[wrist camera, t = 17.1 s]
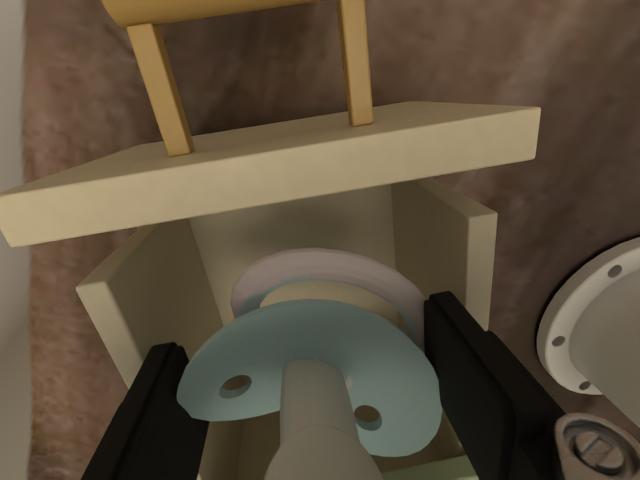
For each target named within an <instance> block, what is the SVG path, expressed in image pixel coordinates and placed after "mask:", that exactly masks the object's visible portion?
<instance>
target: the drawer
mask: <svg viewBox="0 0 640 480" xmlns="http://www.w3.org/2000/svg"><path fill="white" fill-rule="evenodd" d="M101 1H102V3H103V5H104V7H105V8H106V10H107V12H108V13H109V15H110V16H111V18H112V19H113V20H114V21H115V23H116V24H117V25H119V26H120V27H121V28H124V29H127V32H128V35H129V38H130V41H131V44H132V47H133V50H134V53H135V56H136V59H137V62H138V65H139V68H140V71H141V74H142V77H143V80H144V83H145V86H146V89H147V92H148V95H149V99H150V102H151V105H152V108H153V111H154V114H155V117H156V120H157V123H158V126H159V129H160V132H161V135H162V138H163V141H160V142H154V143H148V144H141V145H137V146H134V147H131V148H128V149H125V150H122V151H119V152H117V153H114V154H111V155H108V156H105V157H102V158H99V159H96V160H93V161H90V162H88V163H85V164H82V165H79V166H76V167H73V168H70V169H67V170H64V171H61V172H59V173H56V174H53V175H50V176H47V177H44V178H41V179H38V180H35V181H32V182H30V183H27V184H24V185H21V186H18V187H15V188H13V189H10V190H6V191H3V192H1V193H0V230H1V231H2V233H3V235H4V237H5V239H6V240H7V242H8V244H9V245H10V246H11V247H12V248H16V247H22V246H27V245H33V244H39V243H45V242H51V241H57V240H63V239H69V238H74V237H80V236H86V235H92V234H98V233H104V232H110V231H116V230H121V229H127V228H133V227H139V226H141V227H140V228H139V229H137V230H136V231H135V232H134V233H133V234H132V235H131V236H130V237H129V238H128V239H127V240H126V241H124V242H123V243H122V244H121V245H120V246H119V247H118V248H117V249H116V250H115V251H114V252H113V253H111V254H110V255H109V256H108V257H107V258H106V259H105V260H104V261H103V262H102V263H101V264H100V265H99V266H97V267H96V268H95V269H94V270H93V271H92V272H91V273H90V274H89V275H88V276H87V277H86V278H84V279H83V280H82V281H81V282H80V283H79V284H78V285H77V286H76V291H77V293H78V295H79V297H80V299H81V301H82V303H83V304H84V306H85V308H86V310H87V312H88V314H89V316H90V318H91V319H92V321H93V323H94V325H95V327H96V329H97V331H98V333H99V334H100V336H101V338H102V340H103V342H104V344H105V346H106V348H107V349H108V351H109V353H110V355H111V357H112V359H113V361H114V363H115V364H116V366H117V368H118V370H119V372H120V374H121V376H122V378H123V379H124V381H125V383H126V385H127V387H128V389H130V387H131V385H132V383H133V381H134V379H135V377H136V375H137V373H138V371H139V369H140V368H141V366H142V364H143V362H144V360H145V358H146V356H147V354H148V352H149V350H150V348H151V347H152V346H154V345H158V344H163V343H169V342H175V343H176V344H177V345H178V346H183V347H184V349H185V352H186V354H187V356H188V359H189V361H190V360H191V359H192V357H193V356H194V354H195V353H196V352H197V351H198V350H199V349H200V348H201V347H202V345H203V344H204V343H205V342H206V341H207V340H208V339H210V338H211V337H212V336H213V335H214V334H215V333H217V332H218V331H219V330H220V329H221V328H223V327H224V326H226V325H227V324H229V323H230V322H232V321H233V320H235V318H234V315H233V311H232V308H231V304H230V299H231V293H232V286H233V284H234V283H235V281H236V280H237V278H238V277H239V275H240V274H241V273H242V271H243V270H244V269H245V268H247V267H248V266H250V265H251V264H253V263H254V262H256V261H258V260H259V259H261V258H262V257H265V256H268V255H271V254H275V253H278V252H281V251H285V250H288V249H301V248H314V247H316V248H325V249H334V250H344V251H347V252H351V253H354V254H358V255H361V256H364V257H368V258H371V259H373V260H375V261H377V262H379V263H382V264H384V265H386V266H388V267H390V268H392V269H394V270H396V271H397V272H399V273H400V274H401V275H403V276H404V277H405V278H406V279H408V280H409V281H410V282H412V283H413V284H414V285H415V286H416V287H417V288H418V289H419V291H420V292H421V293H422V294H423V296H424V297H425V298H426V299H427V300H429V296H430V295H431V294H434V293H440V292H445V291H451V292H452V293H453V294H454V295H455V297H456V298H457V299H458V300H459V301H460V302H461V304H462V305H463V306H464V307H465V308H466V309H467V311H468V312H469V313H470V314H471V315H472V316H473V318H474V319H475V320H476V321H477V322H478V323H479V325H480V326H481V327H482V328H483V329H484V330H485V331H488V323H489V311H490V299H491V288H492V276H493V264H494V252H495V240H496V228H497V217H498V214H497V212H495V211H493V210H491V209H489V208H487V207H486V206H484V205H482V204H480V203H478V202H477V201H475V200H473V199H471V198H469V197H467V196H466V195H464V194H462V193H460V192H458V191H456V190H455V189H453V188H451V187H449V186H447V185H446V184H444V183H442V182H440V181H438V180H436V179H435V178H433V176H439V175H445V174H451V173H457V172H462V171H468V170H474V169H480V168H486V167H492V166H498V165H504V164H509V163H515V162H521V161H527V160H532V159H534V158H535V154H536V146H537V138H538V130H539V122H540V114H541V108H540V107H530V106H508V105H486V104H464V103H443V102H421V101H408V102H402V103H396V104H389V105H383V106H377V107H373V106H372V92H371V79H370V65H369V51H368V37H367V23H366V9H365V0H338V1H337V11H338V20H339V30H340V40H341V50H342V60H343V69H344V79H345V89H346V99H347V109H348V111H346V112H340V113H334V114H327V115H321V116H315V117H309V118H303V119H296V120H290V121H284V122H278V123H272V124H265V125H259V126H253V127H247V128H241V129H234V130H228V131H222V132H216V133H210V134H203V135H197V136H191V133H190V130H189V127H188V123H187V120H186V116H185V113H184V110H183V106H182V103H181V99H180V96H179V93H178V89H177V86H176V82H175V79H174V76H173V72H172V69H171V65H170V62H169V59H168V55H167V52H166V48H165V45H164V42H163V38H162V35H161V31H160V29H159V27H157V26H155V25H162V24H168V23H175V22H182V21H188V20H195V19H202V18H209V17H215V16H222V15H229V14H235V13H242V12H249V11H256V10H262V9H269V8H276V7H283V6H289V5H296V4H303V3H309V2H316V1H323V0H101ZM298 299H325V300H334V301H340V302H344V303H348V304H352V305H355V306H358V307H361V308H364V309H366V310H369V311H371V312H373V313H376V314H378V315H380V316H382V317H383V318H385V319H386V320H388V321H390V322H391V323H392V324H394V325H395V326H397V327H398V328H399V329H401V330H402V331H403V328H404V327H403V316H402V315H401V314H400V312H399V311H398V310H397V309H396V308H395V307H394V306H393V305H391V304H390V303H389V302H387V301H386V300H384V299H383V298H381V297H380V296H378V295H376V294H374V293H372V292H370V291H367V290H365V289H363V288H361V287H357V286H353V285H349V284H346V283H342V282H334V281H324V280H314V281H301V282H296V283H292V284H288V285H285V286H281V287H280V288H278V289H276V290H275V291H273V292H271V293H270V294H268V295H267V296H266V297H265V299H264V300H263V301H262V303H261V304H260V308H261V307H264V306H267V305H271V304H274V303H278V302H283V301H290V300H298ZM424 355H425V353H424ZM250 380H251V378H250V377H249V376H247V375H238V376H235V377H232V378H230V379H229V380H227V381H226V382H225V383H224V384H223V385H222V386H221V387H222V388H224V389H226V390H235V389H238V388H241V387H243V386H244V385H246V384H247V383H248V382H249V381H250ZM354 415H355V416H356V417H357V418H358V419H359V420H361V421H364V422H374V421H376V420H377V419H378V418H379V415H380V413H379V412H378V410H376V409H375V408H374V407H372V406H369V405H361V406H359V407H357V408H356V409H355V411H354ZM279 448H280V410H279V411H276V412H272V413H268V414H265V415H261V416H256V417H251V418H246V419H239V420H230V421H210V422H209V427H208V432H207V436H206V441H205V445H204V450H203V454H202V459H201V464H200V468H199V473H198V477H197V480H264V477H265V474H266V471H267V469H268V467H269V465H270V463H271V461H272V459H273V457H274V455H275V454H276V452H277V451H278V449H279ZM370 455H371V457H372V458H373V460H374V461H375V463H376V465H377V467H378V469H379V471H380V472H385V471H390V470H395V469H400V468H405V467H410V466H415V465H420V464H425V463H429V462H434V461H439V460H444V459H449V458H454V457H459V456H464V455H466V453H465V451H464V449H463V447H462V445H461V443H460V441H459V439H458V437H457V435H456V433H455V431H454V429H453V427H452V425H451V423H450V421H449V420H448V418H447V416H446V414H445V412H444V410H443V408H442V416H441V422H440V426H439V428H438V431H437V433H436V435H435V436H434V437H433V439H432V440H431V441H430V443H429V444H428V445H427V446H426V447H424V448H423V449H422V450H420V451H418V452H415V453H412V454H411V455H408V456H401V457H389V456H387V457H383V456H378V455H372V454H370Z"/></svg>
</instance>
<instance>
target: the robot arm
mask: <svg viewBox="0 0 640 480" xmlns="http://www.w3.org/2000/svg"><path fill="white" fill-rule="evenodd" d="M424 351H425V356H426V358H427V359H428V361H429V362H430V364H431V365H432V367H433V368H434V371H435V373H436V376H437V378H438V380H439V394H440V402H441V406H442V408H443V410H444V412H445V414H446V416H447V418H448V420H449V421H450V423H451V425H452V427H453V429H454V431H455V433H456V435H457V437H458V439H459V441H460V443H461V445H462V447H463V449H464V451H465V453H466V455H467V457H468V459H469V461H470V463H471V465H472V467H473V468H474V470H475V472H476V474H477V476H478V478H479V480H640V443H639V442H638V441H637V440H636V439H634V438H633V437H632V436H631V435H630V434H629V433H628V432H627V431H625V430H624V429H622V428H621V427H619V426H618V425H616V424H614V423H612V422H610V421H608V420H606V419H604V418H602V417H599V416H595V415H592V414H588V413H576V412H575V413H570V414H566V413H565V412H564V411H563V410H562V409H561V408H560V406H559V405H558V404H557V403H556V402H555V401H554V400H553V399H552V397H551V396H550V395H549V394H548V393H547V392H546V391H545V390H544V388H543V387H542V386H541V385H540V384H539V383H538V382H537V381H536V379H535V378H534V377H533V376H532V375H531V374H530V373H529V372H528V370H527V369H526V368H525V367H524V366H523V365H522V364H521V363H520V361H519V360H518V359H517V358H516V357H515V356H514V355H513V354H512V352H511V351H510V350H509V349H508V348H507V347H506V346H505V345H504V343H503V342H502V341H501V340H500V339H499V338H498V337H497V336H496V335H495V334H494V333H493V332H491V331H485V330H484V329H483V328H482V327H481V326H480V325H479V323H478V322H477V321H476V320H475V319H474V318H473V316H472V315H471V314H470V313H469V312H468V311H467V309H466V308H465V307H464V306H463V305H462V304H461V302H460V301H459V300H458V299H457V298H456V297H455V295H454V294H453V293H452V292H451V291H445V292H440V293H434V294H431V295H430V296H429V300H425V301H424ZM537 353H538V356H539V360H540V362H541V364H542V365H543V367H544V368H545V370H546V371H547V372H548V373H549V374H550V375H551V376H552V377H553V378H554V379H555V380H556V381H557V382H558V383H559V384H560V385H562V386H563V387H565V388H567V389H568V390H571V391H574V392H577V393H583V394H592V395H599V394H603V395H604V396H605V397H606V398H607V399H609V400H610V401H611V402H612V403H613V404H614V405H615V406H616V407H617V408H618V409H619V410H620V411H621V412H622V413H624V414H625V415H626V416H627V417H628V418H629V419H630V420H631V421H632V422H633V423H634V424H635V425H636V426H637V427H639V428H640V237H638V238H635V239H632V240H629V241H626V242H623V243H621V244H619V245H617V246H615V247H613V248H611V249H609V250H607V251H605V252H603V253H601V254H600V255H598V256H597V257H595V258H594V259H592V260H591V261H589V262H588V263H586V264H585V265H584V266H582V267H581V268H580V269H579V270H578V271H577V272H576V273H574V274H573V275H572V276H571V277H570V278H569V279H568V280H567V281H566V282H565V283H564V285H563V286H562V287H561V288H560V289H559V290H558V292H557V293H556V294H555V296H554V297H553V299H552V300H551V302H550V303H549V305H548V306H547V308H546V310H545V313H544V315H543V317H542V320H541V322H540V325H539V330H538V334H537ZM189 362H190V361H189V359H188V356H187V354H186V352H185V349H184V347H183V346H178V345H177V344H176V343H175V342H169V343H163V344H158V345H154V346H152V347H151V348H150V350H149V352H148V354H147V356H146V358H145V360H144V362H143V364H142V366H141V368H140V369H139V371H138V373H137V375H136V377H135V379H134V381H133V383H132V385H131V387H130V389H129V391H128V393H127V395H126V397H125V398H124V400H123V402H122V403H121V405H120V406H119V407H118V409H117V411H116V413H115V415H114V417H113V419H112V421H111V423H110V425H109V426H108V428H107V430H106V432H105V434H104V436H103V438H102V440H101V442H100V444H99V446H98V447H97V449H96V451H95V453H94V455H93V457H92V459H91V461H90V463H89V465H88V467H87V469H86V470H85V472H84V474H83V476H82V478H81V480H197V477H198V473H199V468H200V464H201V459H202V454H203V450H204V445H205V441H206V436H207V432H208V427H209V422H210V421H206V420H201V419H196V418H192V417H191V416H190V415H189V413H188V412H187V411H186V410H185V409H184V408H183V407H182V406H181V405H180V404H179V403H178V401H177V398H176V397H177V390H178V385H179V383H180V380H181V378H182V375H183V373H184V371H185V368H186V366H187V365H188V363H189Z"/></svg>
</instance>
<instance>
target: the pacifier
mask: <svg viewBox="0 0 640 480" xmlns="http://www.w3.org/2000/svg"><path fill="white" fill-rule="evenodd" d="M314 280H324V281H334V282H342V283H346V284H349V285H353V286H357V287H361V288H363V289H365V290H367V291H370V292H372V293H374V294H376V295H378V296H380V297H381V298H383V299H384V300H386V301H387V302H389V303H390V304H391V305H393V306H394V307H395V308H396V309H397V310H398V311H399V312H400V314H401V315H402V316H403V327H404V328H403V331H402V330H401V329H399V328H398V327H397V326H395V325H394V324H392V323H391V322H390V321H388V320H386V319H385V318H383V317H382V316H380V315H378V314H376V313H373V312H371V311H369V310H366V309H364V308H361V307H358V306H355V305H352V304H348V303H344V302H340V301H334V300H325V299H298V300H290V301H283V302H278V303H274V304H271V305H267V306H264V307H261V308H260V304H261V303H262V301H263V300H264V299H265V297H266V296H267V295H268V294H270V293H271V292H273V291H275V290H276V289H278V288H280V287H281V286H285V285H288V284H292V283H296V282H301V281H314ZM425 300H427V299H426V298H425V297H424V296H423V294H422V293H421V292H420V291H419V289H418V288H417V287H416V286H415V285H414V284H413V283H412V282H410V281H409V280H408V279H406V278H405V277H404V276H403V275H401V274H400V273H399V272H397V271H396V270H394V269H392V268H390V267H388V266H386V265H384V264H382V263H379V262H377V261H375V260H373V259H371V258H368V257H364V256H361V255H358V254H354V253H351V252H347V251H344V250H334V249H325V248H316V247H314V248H301V249H288V250H285V251H281V252H278V253H275V254H271V255H268V256H265V257H262V258H261V259H259V260H258V261H256V262H254V263H253V264H251V265H250V266H248V267H247V268H245V269H244V270H243V271H242V273H241V274H240V275H239V277H238V278H237V280H236V281H235V283H234V284H233V286H232V293H231V299H230V304H231V308H232V311H233V315H234V318H235V320H233V321H232V322H230V323H229V324H227V325H226V326H224V327H223V328H221V329H220V330H219V331H218V332H217V333H215V334H214V335H213V336H212V337H211V338H210V339H208V340H207V341H206V342H205V343H204V344H203V345H202V347H201V348H200V349H199V350H198V351H197V352H196V353H195V354H194V356H193V357H192V359H191V360H190V362H189V363H188V365H187V366H186V368H185V371H184V373H183V375H182V378H181V380H180V383H179V385H178V390H177V397H176V398H177V401H178V403H179V404H180V405H181V406H182V407H183V408H184V409H185V410H186V411H187V412H188V413H189V415H190V416H191V417H192V418H196V419H201V420H206V421H230V420H239V419H246V418H251V417H256V416H261V415H265V414H268V413H272V412H276V411H279V410H280V448H279V449H278V451H277V452H276V454H275V455H274V457H273V459H272V461H271V463H270V465H269V467H268V469H267V471H266V474H265V477H264V480H383V477H382V475H381V473H380V471H379V469H378V467H377V465H376V463H375V461H374V460H373V458H372V457H371V455H370V454H372V455H378V456H383V457H387V456H389V457H401V456H408V455H411V454H412V453H415V452H418V451H420V450H422V449H423V448H424V447H426V446H427V445H428V444H429V443H430V441H431V440H432V439H433V437H434V436H435V435H436V433H437V431H438V428H439V426H440V422H441V416H442V406H441V402H440V394H439V380H438V378H437V376H436V373H435V371H434V368H433V367H432V365H431V364H430V362H429V361H428V359H427V358H426V356H425V355H424V353H425V351H424V301H425ZM238 375H247V376H249V377H250V378H251V380H250V381H249V382H248V383H247V384H246V385H244V386H243V387H241V388H238V389H235V390H226V389H224V388H222V387H221V386H222V385H223V384H224V383H225V382H226V381H227V380H229V379H230V378H232V377H235V376H238ZM361 405H369V406H372V407H374V408H375V409H376V410H378V412H379V413H380V415H379V418H378V419H377V420H376V421H374V422H364V421H361V420H359V419H358V418H357V417H356V416H355V415H354V411H355V409H356V408H357V407H359V406H361Z"/></svg>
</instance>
